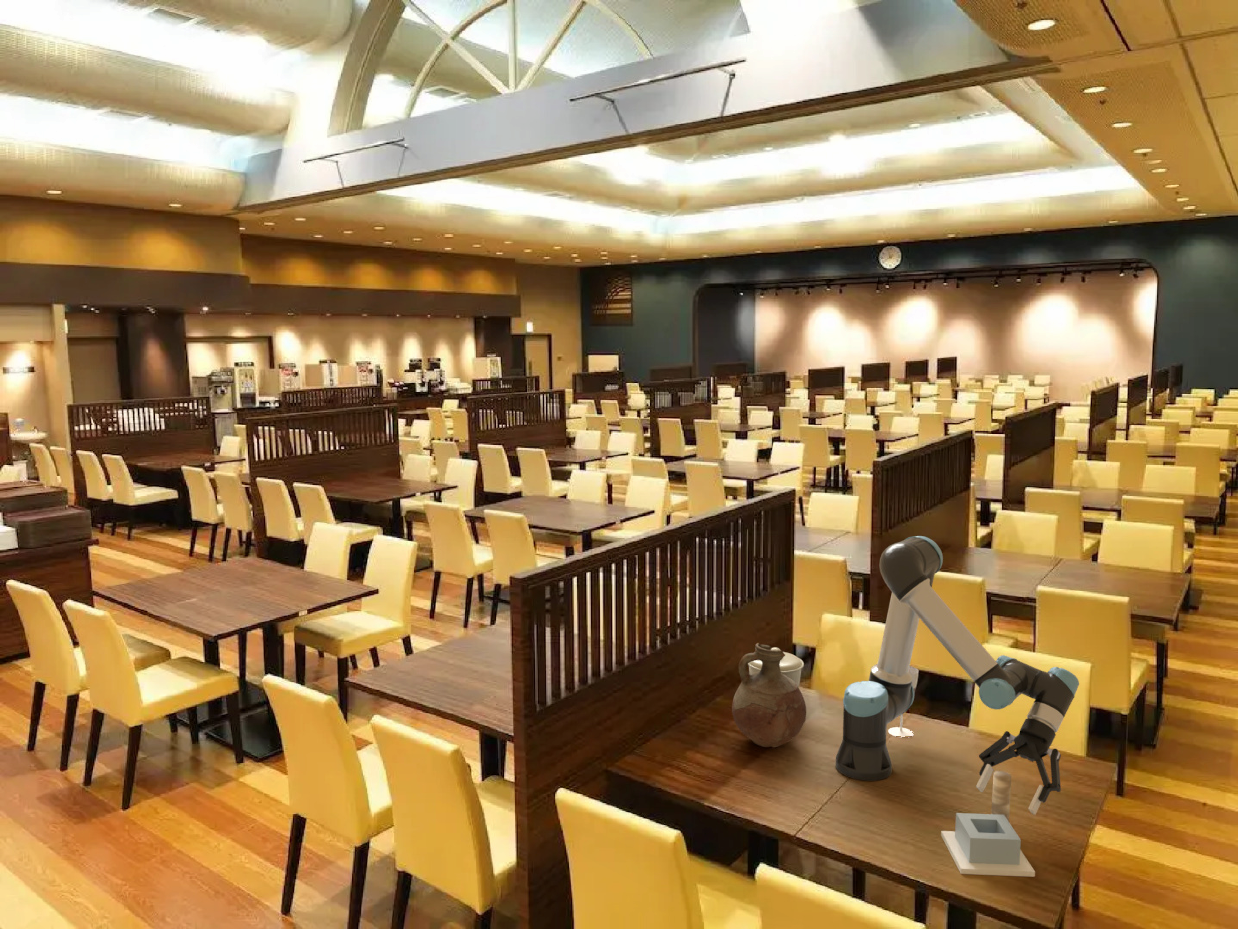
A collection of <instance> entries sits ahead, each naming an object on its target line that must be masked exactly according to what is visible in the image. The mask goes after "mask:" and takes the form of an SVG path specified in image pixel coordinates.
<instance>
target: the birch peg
mask: <svg viewBox="0 0 1238 929" xmlns="http://www.w3.org/2000/svg"><path fill="white" fill-rule="evenodd" d="M992 776H993V778H992V796H991V813H990V814H1000V815H1004V816H1005V817H1006V819H1007V820H1008V822H1009V823H1010V812H1011V811H1010V810H1011V809H1010V807H1011V792H1012V790H1011V787H1012V775H1011V774H1010V772H1007V771H1004V770H994V771H993V773H992Z"/></svg>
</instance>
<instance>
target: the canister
mask: <svg viewBox="0 0 1238 929" xmlns="http://www.w3.org/2000/svg"><path fill="white" fill-rule="evenodd" d="M770 648H771V650H774V651H780V650H781V649H780V648H779V647H775V646H774V647H770ZM783 653H784V654H785V656H784V657H783V659H782V660H781V661H780V670H781V673H782V674H784V675H786V676H787V677H789V678H790V679H792V680H793V681H794V682H796V683H797V685H798V687H799V688H800V682H801V675H802V674H801V673H802V669H803V668H804V665H805V663H804V661H803V660H802V659H801V658H800V657H798V656H796V655H794V654H792V653H789V652H785V651H783ZM747 666H748V673H749V674H750V675H751V674H753V673H756V672H759V671H760V670H761V667H762V661H760V660H755V661H751V662H749V663H748V664H747Z"/></svg>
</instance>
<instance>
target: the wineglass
mask: <svg viewBox="0 0 1238 929" xmlns="http://www.w3.org/2000/svg"><path fill="white" fill-rule="evenodd" d="M908 672H909V673H910V674H911V676H912V686H913V688H914V692H916V689H917V685H918V679H919V669H918V668H916V667H915V666H912V665H910V666H909V671H908ZM903 719H904V713H903V714H902V715H900V716H899V727H898V726H895V727H894V726H893V727H890V728H889V729H887V732H888V733H889V734H890V735H892V736H893V737H896V736H901V737H900V738H902V737H905V736H912V737H913V736H914V735H915V734H913V733H914V732H913V731H912V730H911V729H909V728H906V727H903V723H904V722H903ZM910 730H911V731H910ZM912 732H913V733H912Z"/></svg>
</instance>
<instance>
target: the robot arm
mask: <svg viewBox="0 0 1238 929" xmlns="http://www.w3.org/2000/svg"><path fill="white" fill-rule="evenodd" d="M943 559H944V556H943V553H942V550H941V548H940V547H939V545H938V544H937V543H936V542H935V541H934V540H932V539H931V538H929V537H927V536H922V535H917V536H916V535H915V536H909V537H907V538H905V539H904V540H901V541H898V542H895V543H893V544H891V545H889V546H888V547H886V548H885V549H884V550H883V551H882V553H881V556H880V558H879V572H880V574H881V577H882V579H883V581H884V583H885V584H886V586H887V587H888V588H889V590H890V591H891V596H890V600H889V605H888V610H887V615H886V620H885V625H884V631H883V635H882V641H881V644H880V645H881V646H880V651H879V656H878V660H877V663H876V664H874V665H873V666H871V668H870V671H869V672H870V673H869V676H868V680H861V681H855V682H853V683H850V684H849V685H848V686H847V687H846V688H845V690H844V693H843V694H844V696H843V700H842V703H843V704H842V705H843V714H842V716H843V717H842V720H843V721H842V740H841V742H840V745H839V748H838V751H837V753H836V756H835V768H836V770H837V771H838V772H839V773H840V774H842V775H844V776H846V777H848V778H851V779H853V780H854V779H855V780H859V781H864V782H865V781H868V782H869V781H871V782H873V781H881V780H884V779H886V778H889V777H890V776H891V774H892V770H893V769H892V768H893V765H892V760H891V756H890V754H889V751H888V750H889V749H888V747H887V731H888V729H887V728H888V726H887V725H889V724H890V723H892V722H893V721H894V720H895V719H897V718H899V717H900V715H902V714H903V715H904V714H905V713H906V712H907V711H908V710H909V708H910V707H911V706H912V705H913V702H914V699H915V691H914V688H913V686H912V676H911V674H910V673H909V672H908V671H909V666H911V661H912V656H913V651H914V646H915V642H916V636H917V632H918V626H919V621H920V620H921V621H922V623H923V624H924V625H925V626H926V627H927V629H928V630H929V631H930V632H931V633H932V634H933V635H934V637H935V639H937V640H938V642H940V644H941V645H942V646H943V648H945V650H946V651H947V652H948V653H949V654H950V655H951V656H952V657H953V659H954V660H955V661H956V663H958V665H959V666H960V667H961V668H962V669H963V670H964V671H965V673H966V674H967V675H968V676H969V678H971V680H972V681H973V682H974V684H975V685H976V686H977V687H978V697H979V699H980V701H981V702H982V704H984V705H985V706H986V707H988V708H989V709H992V710H1002V709H1005V708H1006V707H1008V706H1010V705H1012V704H1013V702H1014V701H1015V700H1016V699H1017V698H1018V697H1019V696H1021V695H1023V696H1025V697H1027V698H1028V697H1029V698H1031V699H1033V700H1034V701H1033V703H1032V706H1031V708H1030V709H1029V710H1028V713H1027V715H1026V718H1025V720H1024V721H1023V723H1022V726H1021V727H1020V729H1019V733H1018V735H1013V734H1011V733H1010V731H1008V730H1006V731H1005V732H1004V733H1003V734H1002V736H1001V737H1000V738H999V739H997V741H995V742H994V743H992V744H991V745H989V746H988V747H987V748H986V749H985V750H983V751H982V752H980V753H979V754H978V757H979V759H980V760H981V761H982V762H983V765H982V766H981V769H980V770H979V776H980V777H979V779H978V781H977V784H976V786H975V788H976V789H977V790H978V791H979V792H980V793H984V790H985V788H986V787H987V785H988V783H989V781H990V779H991V776H993V774H994V772H995V770H994V768H993V767H995V766H997V765H1000V764H1001V763H1004V762H1006V761H1008V760H1010V759H1013V758H1017V757H1020V758H1022V759H1026V760H1028V761H1029V762H1032V763H1034V762H1035V763H1036V766H1037V769H1038V772H1039V775H1040V778H1041V781H1042V784H1039V785H1038V787H1037V788H1036V791H1035V794H1034V796H1033V797H1032V800H1031V802H1030V804H1029V806H1028V811H1030V813H1031V814H1032V815H1034V816H1035V815H1036V814H1037V812H1038V810H1039V808H1040V806H1041V803H1043V804H1045V803H1046V801H1047V800H1048V797H1049V795H1050V793H1051V792H1057V793H1060V792H1061V791H1062V788H1061V773H1060V759H1061V757H1062V755H1061V752H1060V751H1059V750H1058V749H1057V748H1050V747H1051V746H1052V744H1053V742H1054V740H1055V738H1056V736H1057V735H1056V733H1058V731H1059V728H1060V727H1061V725H1062V722H1063V721H1064V718H1065V716H1066V714H1067V712H1068V710H1069V709H1070V707H1071V705H1072V702H1073V700H1074V698H1075V695H1076V693H1077V691H1078V688H1079V687H1080V686H1079V685H1080V680H1079V678H1078V677H1077V676H1076V675H1075V674H1074V673H1073V672H1071V671H1069V670H1068V669H1065V668H1063V667H1059V666H1053V667H1051V668H1050V669H1049V670H1048V671H1044V670H1041V669H1038V668H1037V667H1034V666H1032V665H1029V664H1027V663H1026V662H1023V661H1020V660H1018V659H1017V658H1013V657H1010V656H1007V655H1004V654H1003V655H999V656H998V657H997V658H996V660H995V658H994V657H993V656H992V655H991V653H989V652H988V651H987V650H986V648H985V647H984V646H983V645H982V643H981V642H980V641H979V640H978V639H977V637H975V636H974V634H973V633H972V632H971V631H970V630H969V628H968V627H966V625H965V624H964V623H963V622H962V620H961V619H960V618H959V617H958V616H957V614H955V613H954V611H953V610H952V609H951V608H950V607H949V606H948V605H947V604H946V602H945V601H944V600H943V599H942V598H941V597H940V595H939V594H938V593H937V592H936V591H935V589H934V588H933V583H934V580H935V574H937V573H938V572H939V571H940V570H941V568H942V565H943V563H944V562H943V561H944V560H943ZM1013 742H1014V744H1012V743H1013ZM1010 744H1011V745H1010ZM1006 747H1008V748H1006ZM1005 748H1006V749H1005ZM1046 756H1048V757H1049V759H1050V772H1051V773H1050V777H1051V781H1050V778H1049V776H1048V773H1047V769H1046V765H1045V762H1044V760H1043V758H1044V757H1046Z"/></svg>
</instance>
